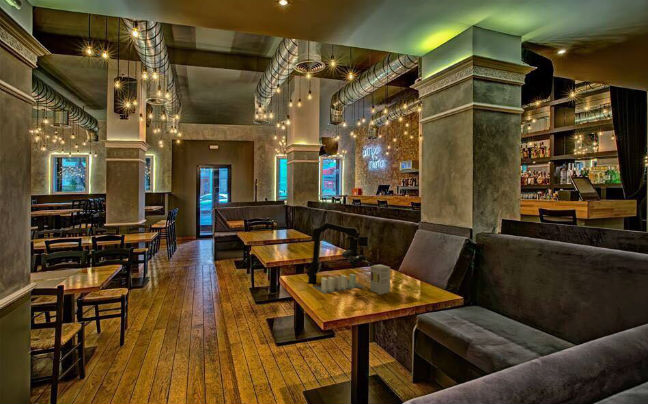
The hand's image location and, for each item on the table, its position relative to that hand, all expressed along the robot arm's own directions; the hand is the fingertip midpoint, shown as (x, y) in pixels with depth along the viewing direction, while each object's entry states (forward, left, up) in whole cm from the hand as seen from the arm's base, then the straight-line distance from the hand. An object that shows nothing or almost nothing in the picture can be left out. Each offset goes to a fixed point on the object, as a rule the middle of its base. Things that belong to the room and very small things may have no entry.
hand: (353, 268), depth 236 cm
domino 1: (0, -23, -12) cm, 25 cm away
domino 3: (0, -13, -12) cm, 17 cm away
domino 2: (0, -18, -12) cm, 21 cm away
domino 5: (0, 0, -12) cm, 12 cm away
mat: (-4, -10, -13) cm, 16 cm away
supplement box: (+17, +9, -13) cm, 23 cm away
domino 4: (0, -8, -12) cm, 14 cm away
